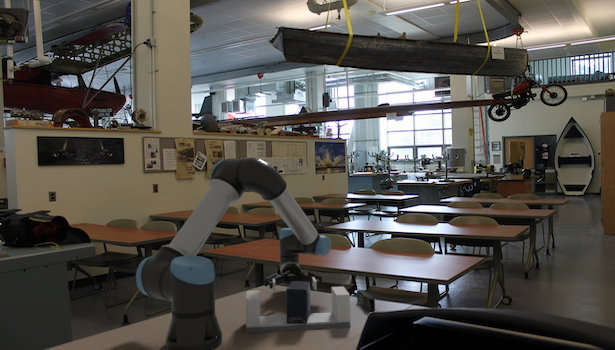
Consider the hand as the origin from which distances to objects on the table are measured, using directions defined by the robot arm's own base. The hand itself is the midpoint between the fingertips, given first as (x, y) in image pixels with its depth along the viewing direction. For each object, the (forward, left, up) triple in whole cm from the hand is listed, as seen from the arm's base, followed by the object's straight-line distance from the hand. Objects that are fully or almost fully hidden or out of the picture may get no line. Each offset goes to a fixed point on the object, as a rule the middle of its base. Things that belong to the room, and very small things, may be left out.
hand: (294, 286), depth 147 cm
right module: (+14, -10, -8) cm, 18 cm away
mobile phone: (+25, +4, -10) cm, 27 cm away
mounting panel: (0, -10, -9) cm, 13 cm away
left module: (-13, -9, -8) cm, 18 cm away
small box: (0, -10, -8) cm, 12 cm away
